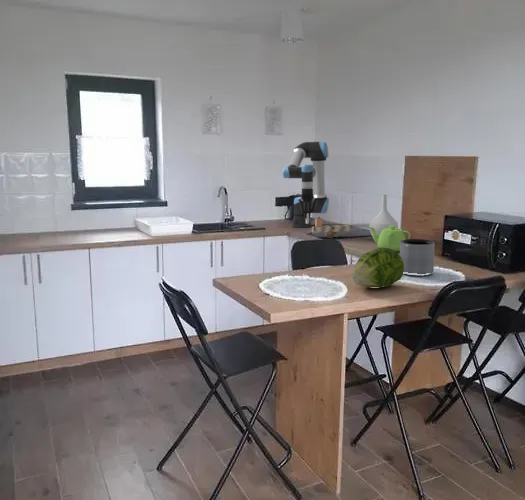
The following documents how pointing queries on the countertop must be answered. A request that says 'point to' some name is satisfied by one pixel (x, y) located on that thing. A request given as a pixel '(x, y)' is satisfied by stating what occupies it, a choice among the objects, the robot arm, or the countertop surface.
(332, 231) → the beam
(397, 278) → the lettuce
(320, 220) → the block
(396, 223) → the vase
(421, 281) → the countertop surface
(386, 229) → the teapot
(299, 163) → the robot arm
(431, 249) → the planter
